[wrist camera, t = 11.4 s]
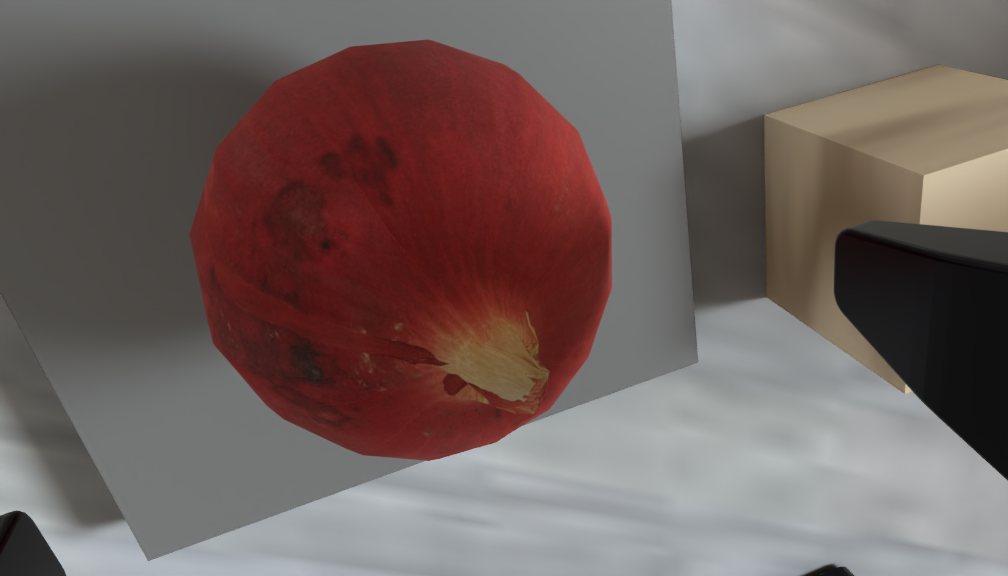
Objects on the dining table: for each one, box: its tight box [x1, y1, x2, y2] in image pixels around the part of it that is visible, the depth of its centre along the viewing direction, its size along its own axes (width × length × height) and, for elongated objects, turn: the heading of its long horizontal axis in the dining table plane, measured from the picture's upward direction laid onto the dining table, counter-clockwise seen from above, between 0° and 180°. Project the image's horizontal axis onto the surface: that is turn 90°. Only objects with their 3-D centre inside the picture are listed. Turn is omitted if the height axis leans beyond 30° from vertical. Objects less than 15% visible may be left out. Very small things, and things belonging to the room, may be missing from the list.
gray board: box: [0, 0, 698, 561], centre depth 16 cm, size 13×13×2 cm
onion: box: [189, 39, 612, 461], centre depth 11 cm, size 6×6×8 cm
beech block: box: [764, 65, 1008, 394], centre depth 19 cm, size 5×5×5 cm
